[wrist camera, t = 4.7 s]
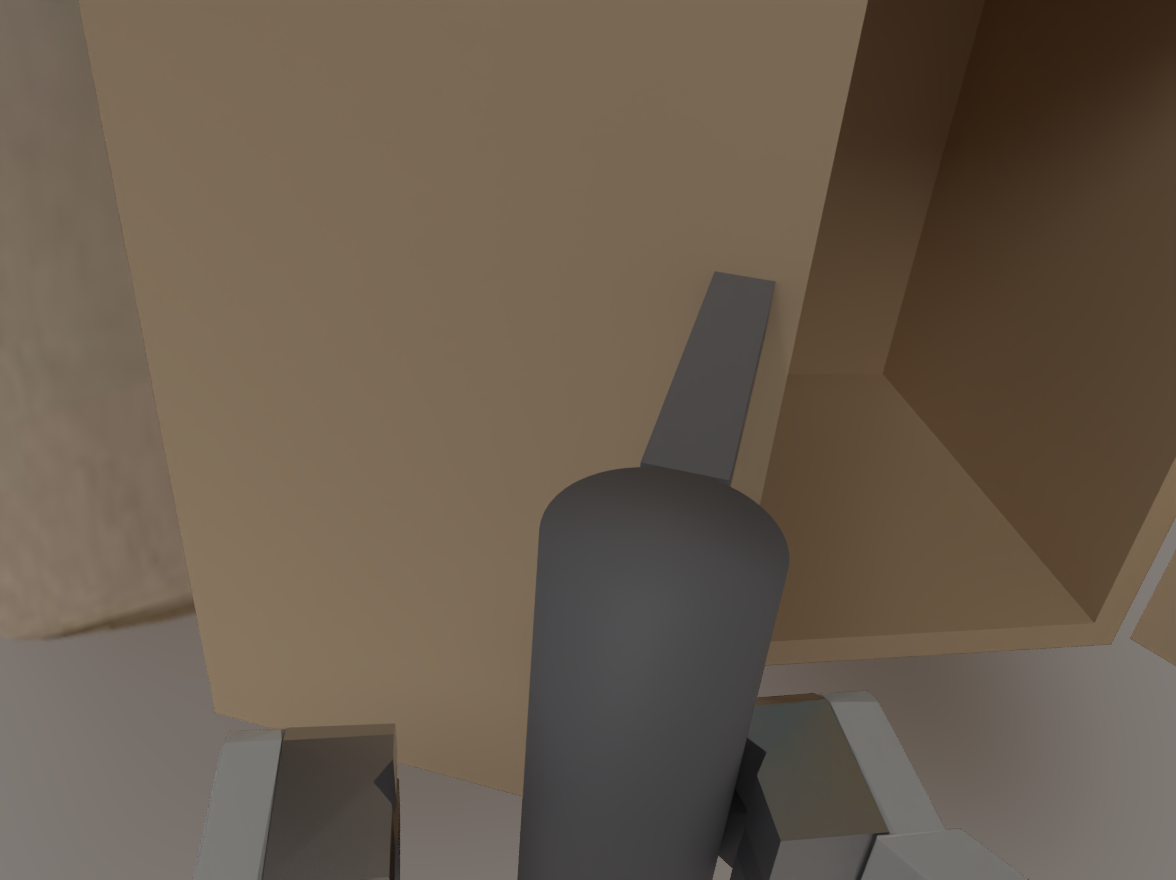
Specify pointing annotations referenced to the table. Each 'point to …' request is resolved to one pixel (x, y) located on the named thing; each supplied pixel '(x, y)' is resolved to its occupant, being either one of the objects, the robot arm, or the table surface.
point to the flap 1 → (483, 374)
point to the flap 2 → (1160, 618)
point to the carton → (985, 337)
